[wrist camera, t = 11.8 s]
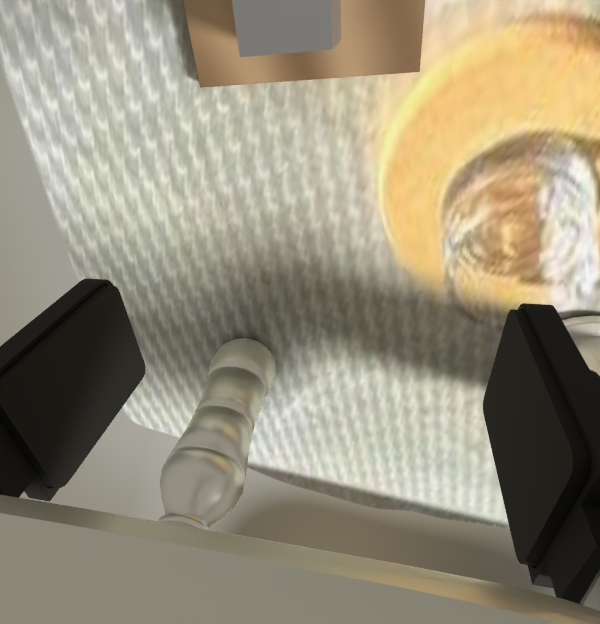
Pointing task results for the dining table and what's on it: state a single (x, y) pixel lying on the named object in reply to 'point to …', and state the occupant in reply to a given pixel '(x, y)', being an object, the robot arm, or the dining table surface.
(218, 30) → the board
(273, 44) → the block
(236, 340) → the plastic bottle
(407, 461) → the dining table surface
